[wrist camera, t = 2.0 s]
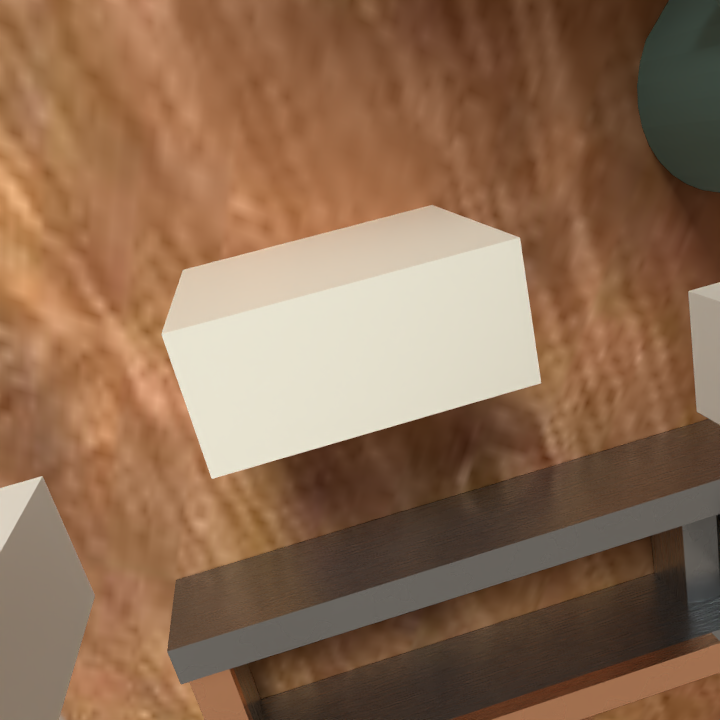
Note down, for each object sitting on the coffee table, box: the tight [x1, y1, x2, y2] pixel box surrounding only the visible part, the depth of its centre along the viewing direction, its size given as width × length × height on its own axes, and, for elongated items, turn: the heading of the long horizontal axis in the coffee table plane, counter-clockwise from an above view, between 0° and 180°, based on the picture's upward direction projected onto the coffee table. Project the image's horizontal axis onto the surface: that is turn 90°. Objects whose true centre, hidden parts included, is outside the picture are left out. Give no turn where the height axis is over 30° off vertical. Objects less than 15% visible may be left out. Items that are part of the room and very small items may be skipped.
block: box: [162, 205, 541, 479], centre depth 21 cm, size 4×9×8 cm, turn 103°
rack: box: [167, 419, 720, 720], centre depth 28 cm, size 8×35×6 cm, turn 103°
